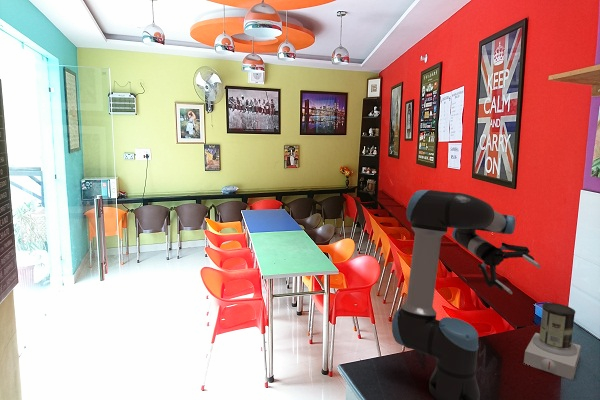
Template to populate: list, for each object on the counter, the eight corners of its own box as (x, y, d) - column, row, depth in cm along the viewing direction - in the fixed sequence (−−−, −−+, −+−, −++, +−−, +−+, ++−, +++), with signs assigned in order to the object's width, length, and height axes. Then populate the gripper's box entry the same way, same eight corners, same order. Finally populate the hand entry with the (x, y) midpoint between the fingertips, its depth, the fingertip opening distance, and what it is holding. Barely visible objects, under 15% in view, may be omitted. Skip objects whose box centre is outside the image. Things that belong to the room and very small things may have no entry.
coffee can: (563, 338, 149) (567, 303, 147) (576, 351, 139) (581, 315, 137) (534, 335, 151) (537, 301, 149) (545, 348, 141) (549, 312, 139)
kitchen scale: (523, 364, 141) (524, 349, 140) (534, 344, 156) (535, 330, 155) (572, 381, 131) (574, 365, 130) (579, 357, 146) (581, 343, 146)
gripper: (508, 233, 156) (554, 260, 138) (464, 274, 158) (502, 307, 140) (501, 222, 153) (547, 249, 134) (456, 265, 155) (494, 297, 136)
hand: (524, 279), depth 137 cm, fingers open, 13 cm apart
